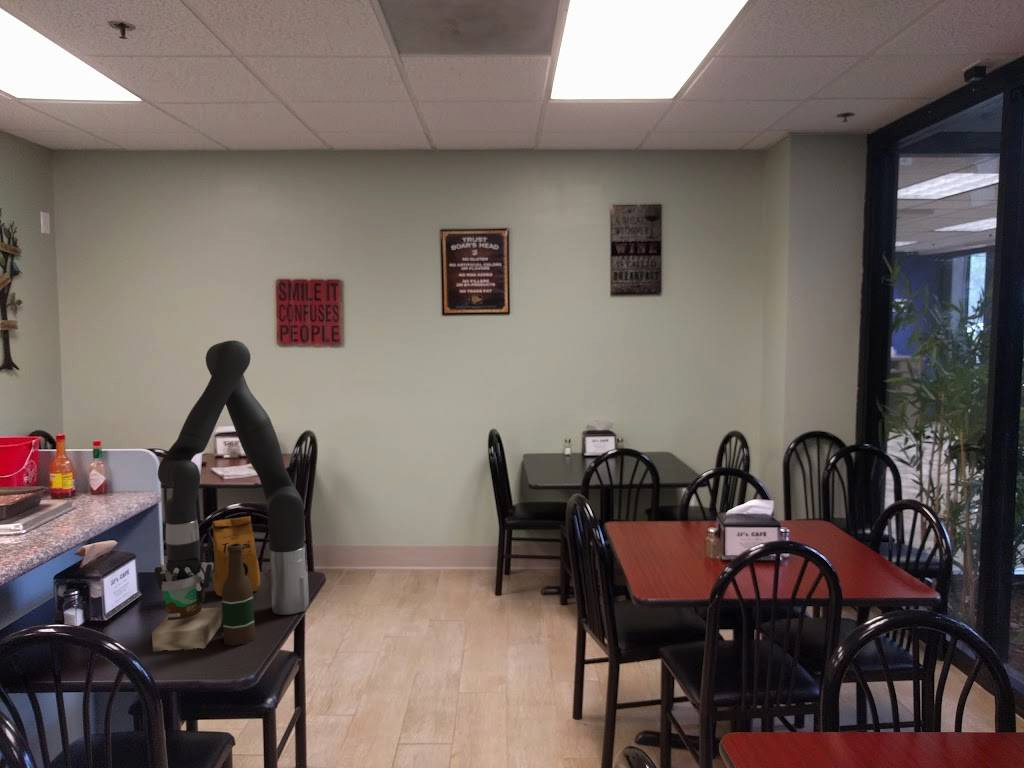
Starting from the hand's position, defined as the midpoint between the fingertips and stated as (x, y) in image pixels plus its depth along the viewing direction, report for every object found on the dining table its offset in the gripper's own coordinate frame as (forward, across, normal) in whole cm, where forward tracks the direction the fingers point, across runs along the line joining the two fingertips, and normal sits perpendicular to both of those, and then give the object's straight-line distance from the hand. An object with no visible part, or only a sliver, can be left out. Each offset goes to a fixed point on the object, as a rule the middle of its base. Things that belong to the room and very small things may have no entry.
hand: (187, 604), depth 185 cm
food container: (+2, -1, 0) cm, 3 cm away
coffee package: (+9, -4, -31) cm, 32 cm away
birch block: (+9, 0, 0) cm, 9 cm away
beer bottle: (+9, -13, +3) cm, 16 cm away
